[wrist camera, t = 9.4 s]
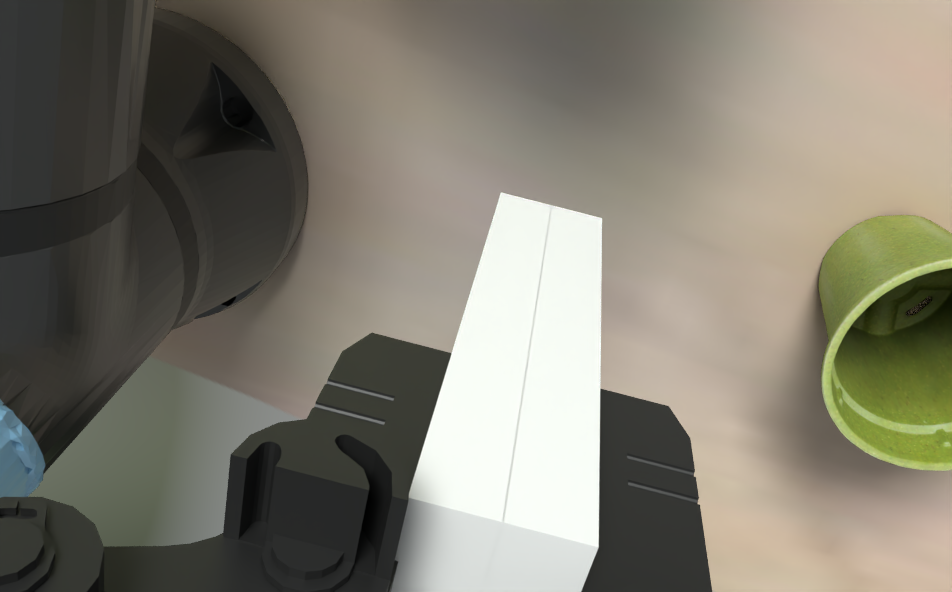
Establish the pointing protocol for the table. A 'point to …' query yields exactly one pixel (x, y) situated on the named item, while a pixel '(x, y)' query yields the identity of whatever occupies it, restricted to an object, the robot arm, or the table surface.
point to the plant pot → (890, 340)
